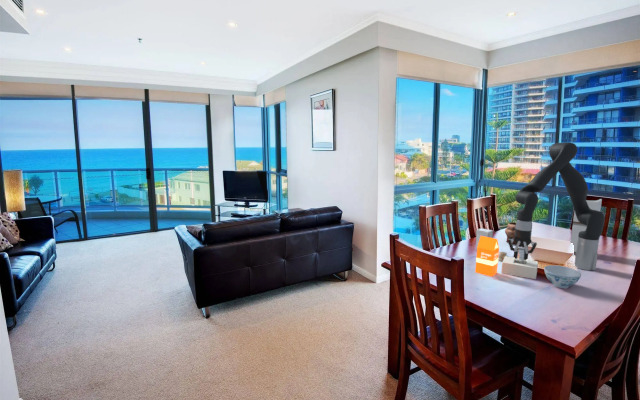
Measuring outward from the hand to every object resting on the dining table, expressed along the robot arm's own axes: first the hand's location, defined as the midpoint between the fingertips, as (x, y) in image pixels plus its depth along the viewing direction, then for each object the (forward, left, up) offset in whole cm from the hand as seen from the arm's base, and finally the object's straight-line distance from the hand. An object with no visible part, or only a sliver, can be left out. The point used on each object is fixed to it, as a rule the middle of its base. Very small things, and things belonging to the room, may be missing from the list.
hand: (520, 258), depth 186 cm
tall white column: (-30, -55, -8) cm, 63 cm away
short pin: (+10, -15, -8) cm, 20 cm away
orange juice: (+15, +10, -8) cm, 20 cm away
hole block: (0, 0, -8) cm, 8 cm away
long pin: (0, 0, -4) cm, 4 cm away
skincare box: (+22, -26, -8) cm, 35 cm away
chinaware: (-19, +8, -8) cm, 22 cm away
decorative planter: (+7, -59, -8) cm, 60 cm away
